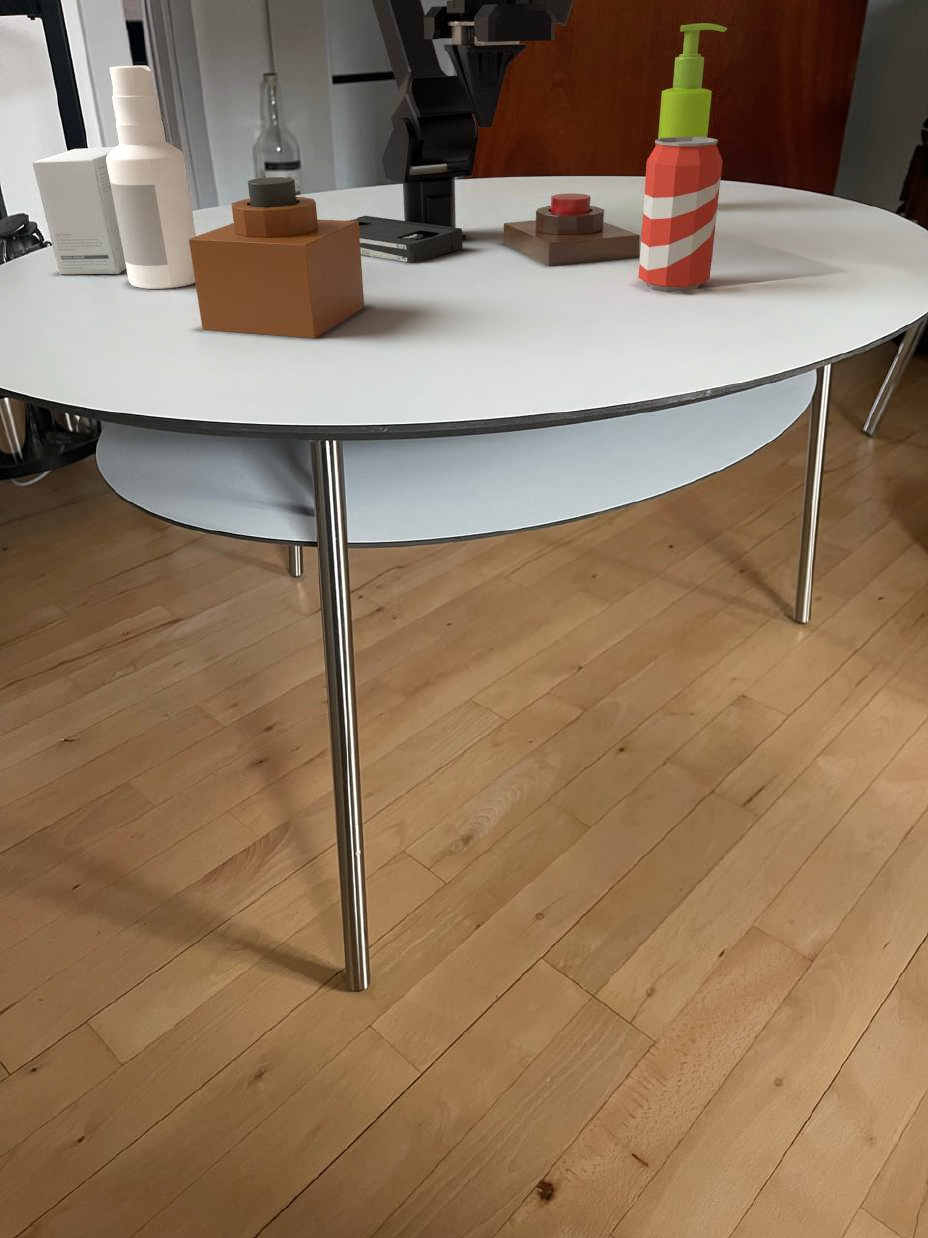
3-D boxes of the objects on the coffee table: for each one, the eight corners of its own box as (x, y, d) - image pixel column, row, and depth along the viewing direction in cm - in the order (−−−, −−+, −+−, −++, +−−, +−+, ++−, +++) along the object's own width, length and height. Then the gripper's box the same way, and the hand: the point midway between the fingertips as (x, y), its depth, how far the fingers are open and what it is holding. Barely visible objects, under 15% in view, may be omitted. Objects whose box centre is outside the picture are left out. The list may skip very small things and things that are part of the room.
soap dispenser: (708, 212, 122) (728, 23, 112) (651, 211, 123) (666, 24, 113) (708, 204, 127) (727, 22, 117) (653, 203, 128) (667, 23, 118)
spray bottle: (137, 274, 97) (98, 65, 88) (207, 272, 98) (176, 63, 88) (122, 291, 92) (79, 69, 82) (197, 288, 92) (163, 67, 83)
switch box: (503, 244, 107) (503, 204, 105) (586, 236, 110) (588, 198, 108) (548, 266, 98) (549, 223, 96) (638, 257, 100) (641, 215, 98)
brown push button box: (260, 300, 88) (247, 190, 83) (364, 307, 85) (357, 194, 80) (202, 329, 80) (183, 210, 75) (314, 338, 77) (303, 215, 72)
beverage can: (624, 283, 91) (634, 139, 85) (677, 274, 94) (690, 134, 87) (668, 297, 86) (681, 145, 80) (722, 287, 89) (739, 140, 83)
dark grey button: (264, 203, 80) (261, 176, 79) (304, 205, 79) (302, 177, 78) (242, 211, 77) (239, 182, 76) (284, 213, 76) (281, 184, 75)
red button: (544, 212, 103) (545, 194, 102) (579, 210, 104) (580, 192, 103) (560, 219, 100) (561, 200, 99) (596, 216, 101) (597, 197, 100)
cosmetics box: (94, 253, 107) (72, 145, 101) (153, 252, 106) (134, 145, 101) (55, 275, 98) (28, 158, 92) (118, 274, 97) (96, 158, 92)
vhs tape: (316, 248, 108) (313, 229, 107) (366, 233, 113) (365, 215, 112) (412, 264, 100) (411, 243, 99) (462, 248, 105) (461, 228, 104)
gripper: (614, -77, 82) (603, 131, 91) (526, -62, 97) (524, 115, 106) (490, -78, 79) (490, 137, 87) (419, -62, 94) (425, 120, 102)
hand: (485, 127), depth 96 cm, fingers closed
